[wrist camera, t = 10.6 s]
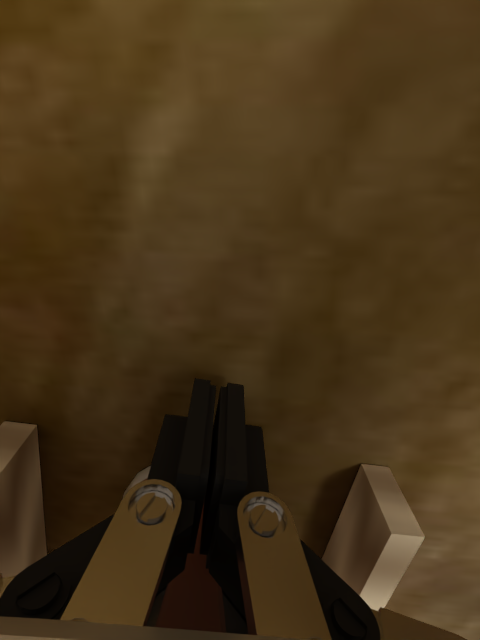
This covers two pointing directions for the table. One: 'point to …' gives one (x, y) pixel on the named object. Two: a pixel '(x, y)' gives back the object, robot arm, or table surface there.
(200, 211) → the table surface
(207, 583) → the coffee cup
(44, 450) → the table surface
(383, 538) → the corral
